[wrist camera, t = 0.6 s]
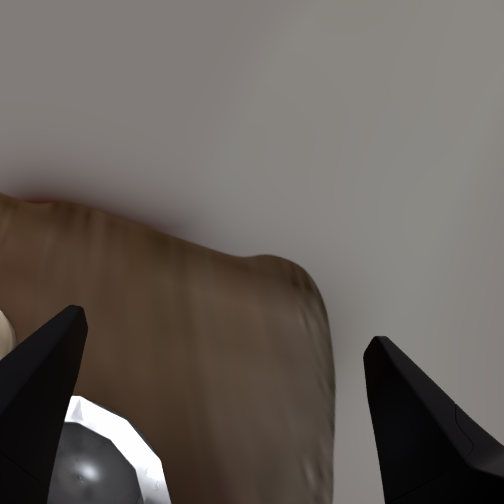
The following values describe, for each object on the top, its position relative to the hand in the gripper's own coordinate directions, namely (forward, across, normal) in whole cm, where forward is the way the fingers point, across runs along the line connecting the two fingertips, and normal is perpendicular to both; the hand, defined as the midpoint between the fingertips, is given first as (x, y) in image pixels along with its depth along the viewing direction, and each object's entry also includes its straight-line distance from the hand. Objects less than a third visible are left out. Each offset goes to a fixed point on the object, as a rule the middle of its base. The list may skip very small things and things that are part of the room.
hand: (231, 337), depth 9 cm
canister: (-1, +9, +18) cm, 20 cm away
